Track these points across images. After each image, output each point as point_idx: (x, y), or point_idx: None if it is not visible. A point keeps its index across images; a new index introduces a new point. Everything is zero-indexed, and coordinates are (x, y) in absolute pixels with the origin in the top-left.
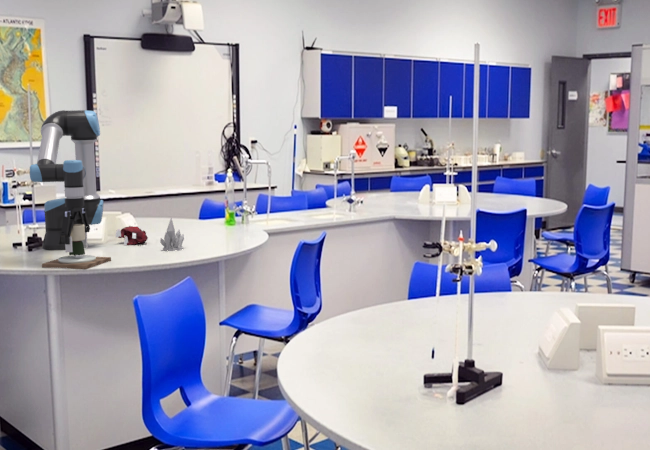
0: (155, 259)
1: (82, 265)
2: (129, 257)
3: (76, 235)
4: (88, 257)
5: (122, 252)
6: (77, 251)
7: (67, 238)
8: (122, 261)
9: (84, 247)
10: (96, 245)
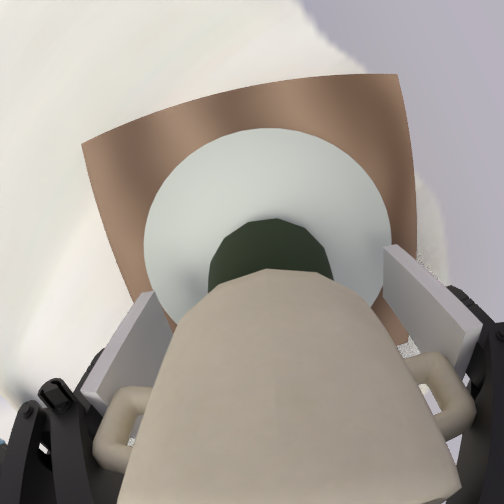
0: (22, 17)
1: (402, 98)
2: (10, 144)
3: (392, 344)
4: (215, 205)
5: None
6: (318, 249)
7: (490, 322)
8: (87, 70)
9: (161, 309)
10: (18, 395)
